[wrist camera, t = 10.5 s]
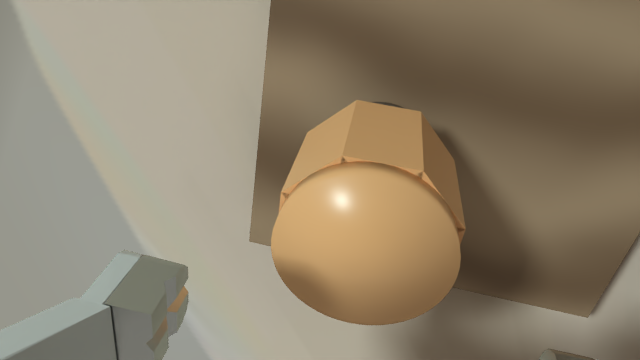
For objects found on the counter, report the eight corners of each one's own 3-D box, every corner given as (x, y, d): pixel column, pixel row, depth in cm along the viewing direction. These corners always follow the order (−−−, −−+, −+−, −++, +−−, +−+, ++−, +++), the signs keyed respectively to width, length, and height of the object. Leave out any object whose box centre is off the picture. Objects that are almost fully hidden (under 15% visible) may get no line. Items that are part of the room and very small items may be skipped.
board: (312, -322, 14) (302, -346, 13) (887, -242, 13) (940, -260, 12) (258, 223, 24) (249, 241, 23) (577, 294, 23) (587, 317, 22)
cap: (312, 91, 17) (278, 158, 12) (467, 119, 16) (486, 198, 12) (296, 215, 20) (264, 304, 15) (428, 242, 19) (433, 340, 15)
